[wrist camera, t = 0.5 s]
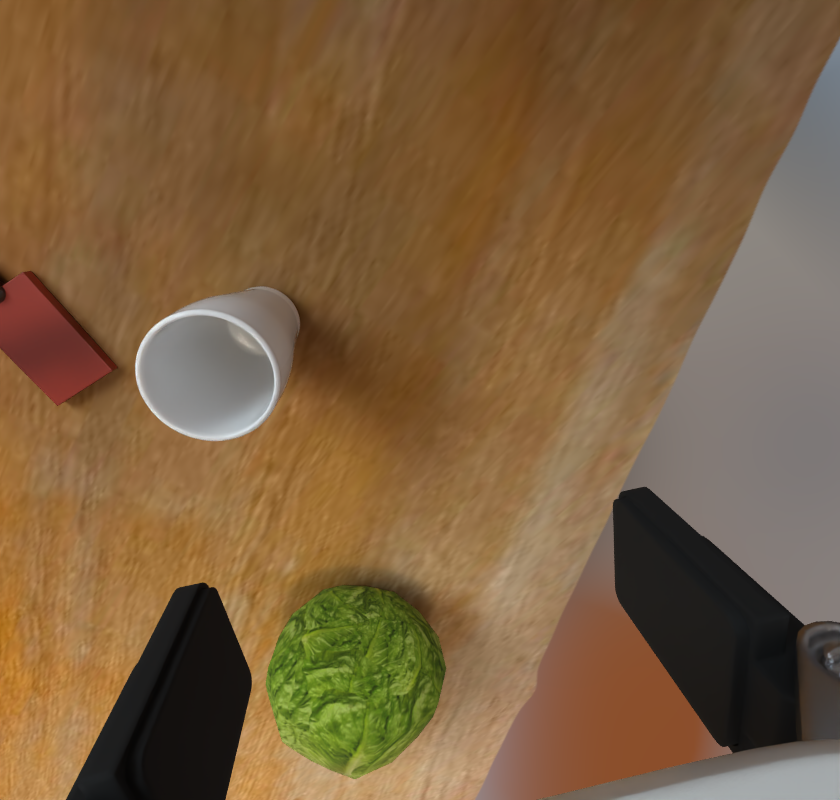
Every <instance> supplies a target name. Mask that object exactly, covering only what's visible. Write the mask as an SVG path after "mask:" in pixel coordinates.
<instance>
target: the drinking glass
mask: <svg viewBox="0 0 840 800" xmlns="http://www.w3.org/2000/svg"><path fill="white" fill-rule="evenodd" d="M299 330H300V318H299V314H298V311H297V309H296V307H295V305H294V304H293V302H292V301H291V300H290V299H289V298H288V297H287V296H286V295H284V294H283V293H282V292H280V291H278V290H276V289H273V288H270V287H263V286H258V287H252V288H248V289H246V290H244V291H240V292H235V293H229V294H223V295H217V296H213V297H208V298H205V299H202V300H199V301H196V302H193V303H191V304H189V305H187V306H185V307H183V308H181V309H179V310H177V311H176V312H174V313H172V314H171V315H169V316H167V317H166V318H164V319H163V320H161V321H160V322H158V323H157V324H156V325H155V326H154V327H153V328H152V329H151V330H150V331H149V332H148V333H147V334H146V336H145V337H144V339H143V341H142V343H141V345H140V347H139V350H138V353H137V357H136V364H135V373H136V380H137V384H138V388H139V391H140V393H141V395H142V397H143V399H144V401H145V403H146V404H147V406H148V407H149V408H150V410H151V411H152V412H153V413H154V414H155V415H156V416H157V417H158V418H159V419H160V420H161V421H162V422H163V423H164V424H166V425H167V426H169V427H170V428H172V429H173V430H175V431H177V432H179V433H181V434H183V435H186V436H189V437H192V438H196V439H200V440H207V441H224V440H230V439H235V438H238V437H241V436H244V435H246V434H248V433H250V432H252V431H253V430H255V429H256V428H258V427H259V426H260V425H261V424H262V423H264V421H265V420H266V419H267V418H268V417H269V416H270V414H271V413H272V411H273V409H274V408H275V406H276V405H277V403H278V401H279V400H280V398H281V396H282V394H283V392H284V390H285V388H286V385H287V383H288V380H289V377H290V374H291V369H292V364H293V358H294V351H295V344H296V340H297V337H298V334H299Z"/></svg>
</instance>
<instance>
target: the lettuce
mask: <svg viewBox="0 0 840 800" xmlns="http://www.w3.org/2000/svg"><path fill="white" fill-rule="evenodd" d="M445 672H446V665H445V661H444V657H443V653H442V649H441V645H440V641H439V637H438V636H437V634H436V633H435V632H434V630H433V629H432V628H431V627H430V625H429V624H428V623H427V621H426V620H425V619H424V617H423V616H422V615H421V613H420V612H419V611H418V610H417V609H415V608H414V607H413V606H412V605H410V604H409V603H408V602H407V601H405V600H404V599H403V598H401V597H400V596H399V595H398V594H396V593H395V592H393V591H388V590H383V589H378V588H373V587H368V586H354V585H341V586H337V587H333V588H328V589H324V590H322V591H321V592H320V593H319V594H317V595H316V596H315V597H314V598H312V599H311V600H310V601H309V602H307V603H306V604H305V605H304V606H302V607H301V608H300V609H298V610H297V611H296V612H295V613H293V614H292V616H291V618H290V619H289V621H288V623H287V624H286V626H285V628H284V630H283V631H282V633H281V635H280V636H279V639H278V642H277V644H276V647H275V650H274V653H273V656H272V659H271V661H270V664H269V667H268V672H267V679H266V688H267V692H268V696H269V700H270V703H271V706H272V710H273V713H274V716H275V720H276V723H277V726H278V730H279V733H280V736H281V739H282V742H284V743H285V744H286V745H287V746H289V747H290V748H291V749H293V750H295V751H296V752H298V753H300V754H301V755H303V756H304V757H306V758H308V759H309V760H311V761H313V762H315V763H317V764H319V765H321V766H323V767H325V768H327V769H329V770H331V771H334V772H337V773H339V774H342V775H345V776H348V777H350V778H353V779H357V778H359V777H361V776H363V775H365V774H368V773H370V772H372V771H374V770H376V769H378V768H380V767H383V766H385V765H387V764H389V763H391V762H393V761H394V760H395V759H396V758H397V757H398V756H399V755H400V754H401V753H402V752H403V751H404V750H405V749H406V748H407V747H408V746H409V745H410V744H411V743H412V742H413V741H414V740H415V739H416V738H417V737H418V736H419V734H420V733H421V732H422V730H423V729H424V728H425V726H426V725H427V724H428V723H429V721H430V720H431V719H432V718H433V715H434V713H435V710H436V708H437V705H438V702H439V698H440V693H441V689H442V685H443V680H444V676H445Z"/></svg>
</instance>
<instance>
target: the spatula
mask: <svg viewBox="0 0 840 800" xmlns="http://www.w3.org/2000/svg"><path fill="white" fill-rule="evenodd" d="M0 348H1V349H2V350H3V351H4V352H5V353H6V354H7V355H8V356H9V357H10V358H11V360H12V361H13V362H14V363H15V364H16V365H17V366H18V367H19V368H20V369H21V370H22V371H23V372H24V373H25V374H26V375H27V376H28V377H29V378H30V379H31V380H32V381H33V382H34V383H35V384H36V385H37V386H38V387H39V388H40V389H41V390H42V391H43V392H44V393H45V394H46V395H47V396H48V397H49V398H50V399H51V400H52V401H53V402H54V403H55V404H56V405H57V406H58V405H60V404H62V403H63V402H65V401H66V400H68V399H70V398H71V397H73V396H74V395H76V394H77V393H79V392H80V391H82V390H84V389H85V388H87V387H88V386H90V385H91V384H93V383H94V382H96V381H98V380H99V379H101V378H102V377H104V376H105V375H107V374H108V373H110V372H112V371H113V370H115V369H116V368H117V366H116V365H115V364H114V363H113V362H112V361H111V359H110V358H109V357H108V356H107V355H106V354H105V353H104V352H103V351H102V349H101V348H100V347H99V346H98V345H97V344H96V343H95V342H94V341H93V340H92V338H91V337H90V336H89V335H88V334H87V333H86V332H85V331H84V330H83V328H82V327H81V326H80V325H79V324H78V323H77V322H76V321H75V320H74V318H73V317H72V316H71V315H70V314H69V313H68V312H67V311H66V310H65V308H64V307H63V306H62V305H61V304H60V303H59V302H58V301H57V300H56V298H55V297H54V296H53V295H52V294H51V293H50V292H49V291H48V290H47V288H46V287H45V286H44V285H43V284H42V283H41V282H40V281H39V280H38V278H37V277H36V276H35V275H34V274H33V273H32V272H31V271H28V272H22V273H21V274H19V275H18V276H16V277H15V278H13V279H12V280H10V281H9V282H7V283H6V284H4V283H3V282H2V281H1V280H0Z"/></svg>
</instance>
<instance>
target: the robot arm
mask: <svg viewBox="0 0 840 800" xmlns="http://www.w3.org/2000/svg"><path fill="white" fill-rule="evenodd" d="M613 522H614V558H615V560H614V561H615V590H616V594H617V597H618V600H619V602H620V604H621V605H622V607H623V608H624V610H625V611H626V613H627V614H628V615H629V617H630V618H631V620H632V621H633V623H634V624H635V626H636V627H637V628H638V630H639V631H640V633H641V634H642V636H643V637H644V638H645V640H646V641H647V643H648V644H649V646H650V647H651V649H652V650H653V651H654V653H655V654H656V656H657V657H658V659H659V660H660V662H661V663H662V664H663V666H664V667H665V669H666V670H667V672H668V673H669V675H670V676H671V677H672V679H673V680H674V682H675V683H676V684H677V686H678V687H679V689H680V690H681V692H682V693H683V695H684V696H685V698H686V699H687V700H688V702H689V703H690V705H691V706H692V708H693V709H694V711H695V712H696V713H697V715H698V716H699V718H700V719H701V721H702V722H703V724H704V725H705V726H706V728H707V729H708V731H709V732H710V733H711V735H712V736H713V738H714V739H715V740H716V742H717V743H718V744H719V745H720V746H722V747H726V746H728V747H729V748H730V749H731V751H732V752H733V753H732V754H727V755H723V756H718V757H714V758H709V759H705V760H700V761H696V762H692V763H687V764H683V765H678V766H674V767H670V768H665V769H661V770H657V771H653V772H649V773H645V774H641V775H637V776H633V777H628V778H625V779H620V780H616V781H612V782H608V783H604V784H600V785H596V786H592V787H588V788H583V789H580V790H575V791H571V792H567V793H563V794H559V795H555V796H551V797H547V798H542V799H538V800H840V623H837V622H832V621H821V622H813V623H811V624H807V625H804V624H803V623H802V622H800V621H799V620H798V619H797V618H796V617H795V616H793V615H792V614H791V613H790V612H789V611H788V610H787V609H786V608H785V607H784V606H782V605H781V604H780V603H779V602H778V601H777V600H776V599H774V597H772V596H771V595H770V594H769V593H768V592H767V591H766V590H764V589H763V588H762V587H761V586H760V585H759V584H758V583H757V582H756V581H754V580H753V579H752V578H751V577H750V576H749V575H748V574H747V573H746V572H744V571H743V570H742V569H741V568H740V567H739V566H738V565H737V564H735V563H734V562H733V561H732V560H731V559H730V558H729V557H728V556H726V555H725V554H724V553H723V552H722V551H721V550H720V549H719V548H717V547H716V546H715V545H714V544H713V543H712V542H711V541H709V540H708V539H707V538H705V537H704V536H701V535H700V534H699V533H698V532H696V531H695V530H694V529H693V528H692V527H691V526H690V525H688V523H686V522H685V521H684V520H683V519H682V518H681V517H680V516H679V515H677V514H676V513H675V512H674V511H673V510H672V509H671V508H670V507H669V506H668V505H666V504H665V503H664V502H663V501H662V500H661V499H660V498H659V497H658V496H656V495H655V494H654V493H653V492H652V491H651V490H650V489H648V488H647V487H641V488H637V489H632V490H627V491H623V492H621V493H620V495H619V499H616V500H614V502H613ZM251 687H252V678H251V673H250V670H249V667H248V665H247V662H246V660H245V657H244V655H243V652H242V650H241V647H240V645H239V643H238V640H237V638H236V635H235V633H234V630H233V628H232V625H231V623H230V621H229V618H228V616H227V613H226V611H225V608H224V606H223V603H222V601H221V598H220V596H219V594H218V591H217V590H216V588H215V587H211V588H209V587H208V585H207V584H206V583H199V584H194V585H189V586H185V587H180V588H178V589H176V590H175V592H174V593H173V595H172V597H171V599H170V601H169V603H168V605H167V607H166V609H165V611H164V613H163V615H162V617H161V619H160V621H159V622H158V624H157V626H156V628H155V630H154V632H153V634H152V636H151V638H150V640H149V642H148V644H147V646H146V648H145V650H144V652H143V654H142V656H141V658H140V660H139V662H138V663H137V665H136V666H135V668H134V669H133V671H132V672H131V674H130V676H129V678H128V680H127V682H126V684H125V686H124V688H123V690H122V692H121V694H120V696H119V698H118V700H117V702H116V704H115V705H114V707H113V709H112V711H111V713H110V715H109V717H108V719H107V721H106V723H105V725H104V727H103V729H102V731H101V733H100V735H99V737H98V739H97V741H96V742H95V744H94V746H93V748H92V750H91V752H90V754H89V756H88V758H87V760H86V762H85V764H84V766H83V768H82V770H81V772H80V774H79V776H78V778H77V779H76V781H75V783H74V785H73V787H72V789H71V791H70V793H69V795H68V797H67V799H66V800H225V799H226V795H227V790H228V786H229V782H230V778H231V773H232V769H233V765H234V761H235V756H236V752H237V748H238V744H239V739H240V735H241V731H242V727H243V722H244V718H245V714H246V710H247V705H248V701H249V697H250V693H251Z"/></svg>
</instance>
